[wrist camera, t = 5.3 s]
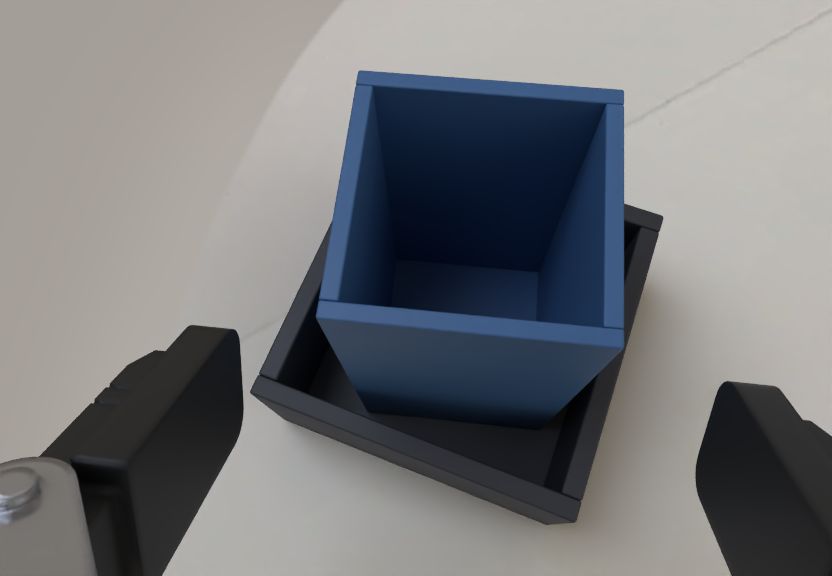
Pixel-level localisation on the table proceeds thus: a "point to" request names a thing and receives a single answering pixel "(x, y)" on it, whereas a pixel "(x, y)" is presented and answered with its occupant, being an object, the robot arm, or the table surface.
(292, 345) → the black bin
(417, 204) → the blue bin
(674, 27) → the table surface
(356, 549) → the table surface
